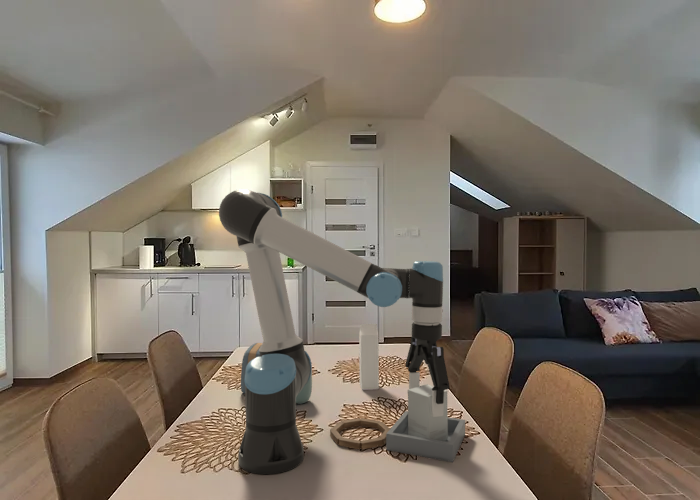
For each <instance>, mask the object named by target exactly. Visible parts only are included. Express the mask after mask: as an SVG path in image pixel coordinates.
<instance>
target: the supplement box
mask: <svg viewBox="0 0 700 500" xmlns="http://www.w3.org/2000/svg"><path fill="white" fill-rule="evenodd" d="M433 387H434V385H430V384H428V383H427V384H423V385H419V387H416V388H412V389H409V388H408V389H407V411H408V435H410V436H416V437H421V438H427V439H433V440H439V441H446V440H448V417H449V416H448V390H447V389H446V390H444V409H443V416H438V417H433V416H432V388H433Z"/></svg>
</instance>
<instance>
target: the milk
mask: <svg viewBox="0 0 700 500" xmlns="http://www.w3.org/2000/svg"><path fill="white" fill-rule="evenodd" d="M378 330H379V329H378V324H377V323H361V324H360V325H359V331H358V333H359V334H358V336H359V338H358V341H359V344H358V345H359V347H358V349H359V353H358V355H359V357H358V358H359V386H360V389H361V391H367V390H368V391H372V390H373V391H374V390H379V387H380V386H379V385H380V384H379V381H380V379H379V378H380V377H379V375H380V374H379V373H380V372H379V370H380V367H379V361H380V360H379V357H380V356H379V351H380V350H379V341H380V339H379V331H378Z"/></svg>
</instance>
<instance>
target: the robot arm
mask: <svg viewBox="0 0 700 500" xmlns="http://www.w3.org/2000/svg"><path fill="white" fill-rule="evenodd" d="M218 216H219V221H220V223H221V225H222V226H223V228H224V229H225V230H226V231H227V232H228V233H230V234H231V235H233V236H235V237H236V240H237V246H238V248H239V249H240V250H241V251H244V253H245V255H246V261H247V266H248V271H249V275H250V281H251V286H252V291H253V295H254V301H255V302H254V303H255V306H256V311H257V316H258V321H259V325H260V331H261V336H262V343H263V344H262V345H261V347H260V348H259V352H260V357H256V358H254V359H252V360H251V361H250V362H249V363H248V365H247V366H246V372H245V379H244V381H245V393H244V398H245V403H244V404H245V431H244V433H243V436H242V439H241V442H240V446H239V449H238V465H239V467H240V468H241V469H243V470H244V471H246V472H249V473H252V474H256V475H273V474H279V473H283V472H287V471H290V470H293V469H294V468H297V466H299V465H300V464H301V463H302V462H303V460H304V457H305V456H304V454H305V453H304V452H305V451H304V450H305V449H304V444H303V442H302V439H301V436H300V432H299V429H298V427H297V409H296V408H297V404H296V396H297V395H298V394H299V392H300V391H301V390H302V389H303V388H304V387H305V385H306V384H307V382H308V381H309V378H310V375H311V371H312V370H313V365H312V364H313V363H312V360H311V357H310V355H309V353H308V352H307V351H306V349H305V346H304V340H303V338H301V337H299V336H298V335H297V334H296V331H295V330H296V329H295V325H294V320H293V315H292V311H291V304H290V301H289V294H288V288H287V284H286V280H285V275H284V270H283V264H282V260H281V254H282V255H284V256H286V257H288V258H289V259H291V260H294V261H295V262H298V263H300V264H302V265H303V266H306V267H307V268H310V269H312V270H313V271H315V272H318V273H319V274H321V275H323V276H325V277H327V278H329V279H331V280H333V281H335V282H337V283H339V284H341V285H342V286H345V287H346V288H349V289H350V290H352V291H354V292H356V293H358V294H360V295H361V296H363V297H365V298H366V299H368V300H369V301H370V302H371V303H372V304H373V305H375V306H377V307H381V308H389V307H390V306H393V305H395V304H396V303H397V302H398V301H399V299H411V301H412V302H411V321H412V324H411V336H410V346H409V349H408V352H407V356H406V360H405V363H404V364H405V368H407V371H408V372H409V374H408V390H409V389H412V388H416V387H419V386H421V385H420V382H421V381H420V380H421V377H420V375H421V373H420V371H421V365H422V364H423V362H424V363H425V364H426V366H427V368H428V371H429V374H430V378H431V381H432V386H434V387H433V388H432V416H433V417H438V416H443V409H444V390H446V391H447V390H450V382H449V377H448V372H447V365H446V359H445V356H444V355H445V352H444V351H445V350H444V347H443V346H437V342H438V341H439V340H441V339H442V336H443V325H442V321H443V312H444V309H443V299H444V298H443V296H444V294H443V293H444V266H443V264H442V263H441V262H439V261H433V260H415V261H414V262H413V263H412V267H411V268H393V267H392V268H389V267H380V266H378V265H377V264H374V263H372V262H370V261H368V260H367V259H364V258H362V257H360V256H358V255H357V254H355V253H353V252H351V251H349V250H347V249H345V248H342V247H341V246H338V245H337V244H336V243H333V242H331V241H330V240H327V239H325V238H323V237H321V236H320V235H317V234H315V233H313V232H312V231H310V230H308V229H306V228H303V227H301V226H300V225H298V224H296V223H294V222H292V221H291V220H288V219H286V218H285V217H283V212H282V209H281V206H280V205H279V204H278V203H277V201H276V200H275V199H273V198H272V197H271V196H269V195H267V194H265V193H262V192H256V191H252V190H250V189H243V188H241V189H236V190H233V191H231V192H228V194H227V195H225V197H224V198H223V199H222V201H220V205H219V209H218ZM312 372H313V371H312Z"/></svg>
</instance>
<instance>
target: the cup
mask: <svg viewBox="0 0 700 500" xmlns="http://www.w3.org/2000/svg"><path fill="white" fill-rule="evenodd" d="M312 388H313V371H311V375H310V378H309V381H308V382H307V384H306V385H305V387H304V388H303V389H302V390H301V391H300V392H299V394H298V395H297V396H296V405H297V404H298V405H301V404H302V405H303V404H306V403H307V402H308V401H310V398H311V396H312V390H313V389H312Z"/></svg>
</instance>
